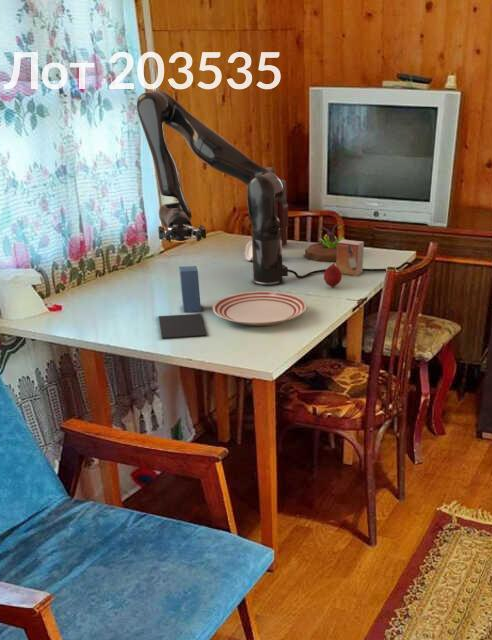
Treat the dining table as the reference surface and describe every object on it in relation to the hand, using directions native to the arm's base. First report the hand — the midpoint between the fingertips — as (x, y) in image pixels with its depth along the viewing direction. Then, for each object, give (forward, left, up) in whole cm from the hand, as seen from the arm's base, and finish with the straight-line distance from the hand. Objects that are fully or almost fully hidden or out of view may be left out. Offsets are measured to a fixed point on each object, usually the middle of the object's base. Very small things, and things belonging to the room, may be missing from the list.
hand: (184, 238), depth 221 cm
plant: (-57, -43, -18) cm, 74 cm away
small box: (-57, -19, -18) cm, 63 cm away
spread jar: (-30, -41, -18) cm, 54 cm away
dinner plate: (-19, +21, -18) cm, 34 cm away
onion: (-47, -3, -18) cm, 50 cm away
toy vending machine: (-38, -61, -18) cm, 74 cm away
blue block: (0, +11, -18) cm, 21 cm away
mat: (+4, +26, -18) cm, 32 cm away
